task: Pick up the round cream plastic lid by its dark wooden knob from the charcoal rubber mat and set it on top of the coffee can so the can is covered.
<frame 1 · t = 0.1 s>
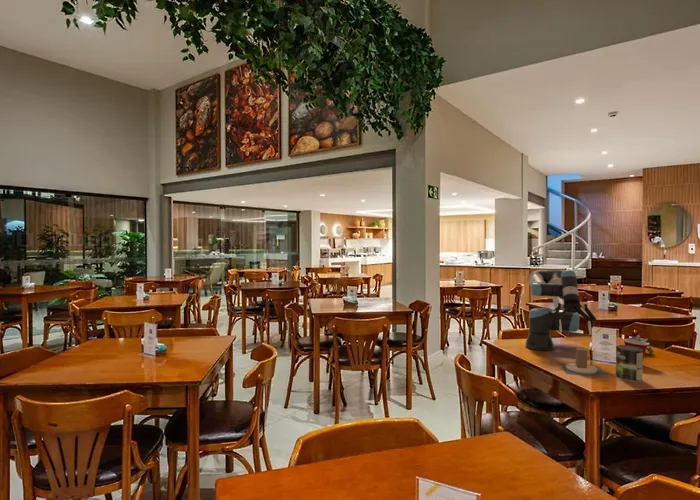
hand: (575, 332, 211), 15 cm above the table, tool tilted 35°, fingers open, 13 cm apart
mat: (583, 371, 197), on the table
plastic cup: (635, 364, 209), on the table
coffee can: (629, 379, 186), on the table
passion flower: (638, 353, 233), on the table
lid: (581, 370, 197), resting on mat
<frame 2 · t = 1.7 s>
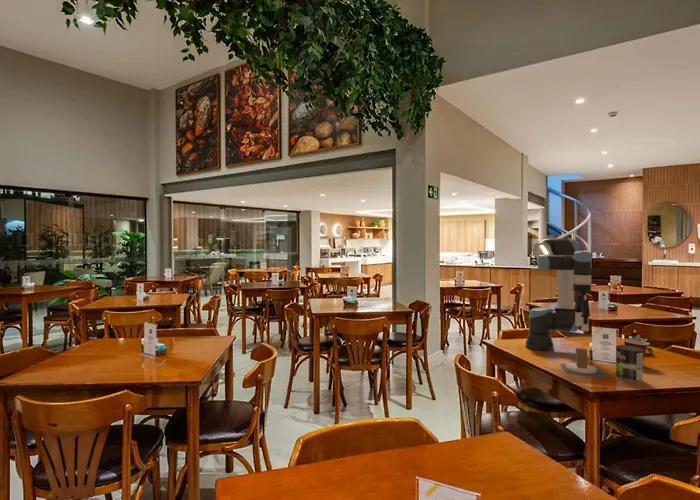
hand: (581, 328, 197), 20 cm above the table, tool pointing down, fingers open, 13 cm apart
nothing on the table moved.
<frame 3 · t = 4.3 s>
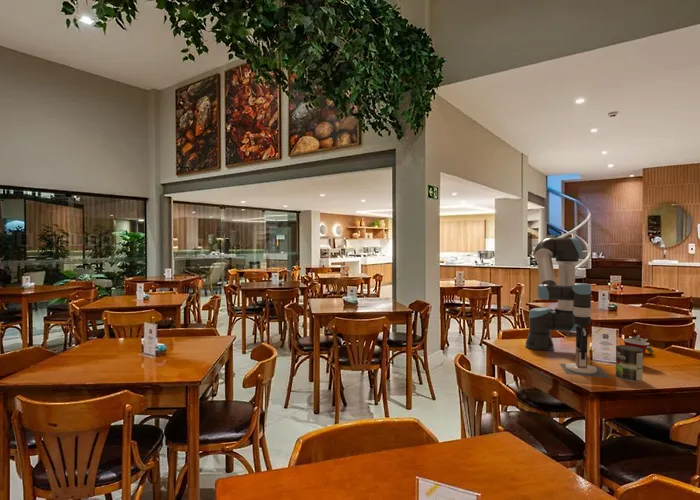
hand: (581, 364, 197), 3 cm above the table, tool pointing down, fingers closed on lid, 4 cm apart
lid: (581, 370, 197), point 1 cm above the table, touching gripper, mat
everything else where it was.
when the fingers open (18 cm above the table, at t = 9.7 s): lid drops 1 cm, resting on coffee can.
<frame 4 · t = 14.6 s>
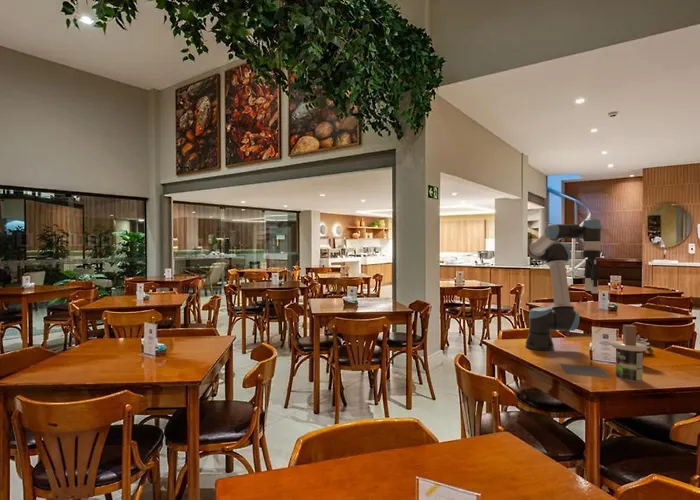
hand: (591, 292, 208), 37 cm above the table, tool pointing down, fingers open, 13 cm apart
coffee can: (629, 379, 186), on the table, touching lid
lid: (629, 347, 186), point 14 cm above the table, touching coffee can
everything else where it was.
at the end: lid 0.1 cm from the coffee can (horizontally); lid point 14.0 cm above the table; lid tilted 0° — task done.
